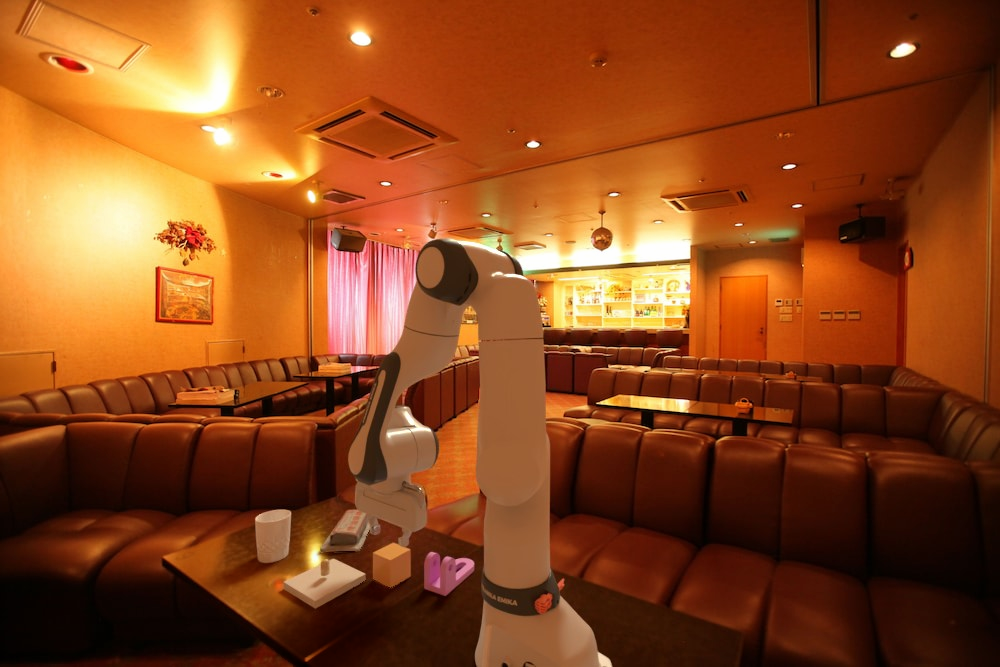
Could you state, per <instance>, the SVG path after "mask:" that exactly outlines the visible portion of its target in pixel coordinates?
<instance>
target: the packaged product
mask: <svg viewBox="0 0 1000 667" xmlns="http://www.w3.org/2000/svg"><path fill="white" fill-rule="evenodd" d="M369 530H370V525H369V522H368V520H367V514H366V513H363V512H361V511H358V510H357V508H356V509H348V510H345V512H344V513H343V514H342V516H341V518H340V519H339V520H338V522H337V524H336V525H335V526H334V528H333V529H332V531H331V532H330V534H329V535H328V537H327V538H326V539H325V540H324V542H323V543H322V545H321V546H320V549H319V551H320V553H321V552H326V551H355V552H361V550H362V548H363V546H364V544H365V541H366V540H367V538H366V536H367V537H368V535H369V534H368V532H369ZM369 533H370V532H369ZM367 534H368V535H367ZM361 547H362V548H361ZM360 549H361V550H360Z"/></svg>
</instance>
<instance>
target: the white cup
mask: <svg viewBox="0 0 1000 667" xmlns="http://www.w3.org/2000/svg"><path fill="white" fill-rule="evenodd" d="M254 521H255V522H254V523H255V540H256V550H257V554H256V555H257V561H258V562H259V563H262V564H270V563H271V564H272V563H275V562H276V563H277V562H279V561H281V560H283V559H285V558H286V557H287V556H289V553H290V542H291V539H290V538H291V527H292V526H291V523H292V522H291V521H292V511H291V510H288V509H275V510H274V509H272V510H269V511H265V512H262V513H261V514H259V515H257V516H255V518H254Z"/></svg>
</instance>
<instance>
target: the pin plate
mask: <svg viewBox="0 0 1000 667" xmlns="http://www.w3.org/2000/svg"><path fill="white" fill-rule="evenodd" d="M366 576H367V574H366V573H365V572H362V571H360V570H358V569H356V568H355V567H352V566H351V565H348V564H346V563H344V562H342V561H339V560H338V559H336V558H331V559H328V558H324V559H322V560H321V562H320V564H318V565H316V566H314V567H312V568H310V569H308V570H306V571H303V572H302V573H299V574H298V575H295V576H293V577H291V578H288V579H287V580H284V581H283V586H282V587H283V590H285V591H286V592H287V593H289V594H291V595H292V596H294V597H295V598H298V599H299V600H301V601H302V602H303V603H305V604H307V605H309V606H310V607H312V608H314V609H315V610H316V609H317V608H319V607H321V606H323V605H324V604H327V603H328V602H330V601H332V600H334V599H336V598H337V597H339V596H341V595H343V594H344V593H346V592H348V591H350V590H352V589H354V588H355V587H358V586H359V585H361V584H363V583H364V582H366V581H365V580H367V579H366ZM363 581H364V582H363ZM362 582H363V583H362ZM360 583H361V584H360ZM353 587H354V588H353Z"/></svg>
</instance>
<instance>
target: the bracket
mask: <svg viewBox="0 0 1000 667" xmlns="http://www.w3.org/2000/svg"><path fill="white" fill-rule="evenodd" d="M423 567H424V568H423V570H424V571H423V572H424V573H423V575H424V576H423V577H424V578H423V579H424V580H423V581H424V582H423V583H424V584H423V585H424V587H423V588H424V590H427V591H429V592H432V593H435V594H439V595H441V596H444V597H447V595H449V594H450V593H451V592H452V591H453V590H454V589H455V588H456V587H458V586H459V585H460V584H461V583H462V582H464V580H466V579H467V578H468V577H469V576H470V575H471V574H473V572H474V571H475V561H474V560H472V559H470V558H467V557H461V558H457V559H455V558H454V557H451V556H445V557H444V558H443V559H442V560H441V556H440V554H439V553H438V552H433V551H430V552H429V553H427V555H426V557H425V558H424V563H423Z"/></svg>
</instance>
